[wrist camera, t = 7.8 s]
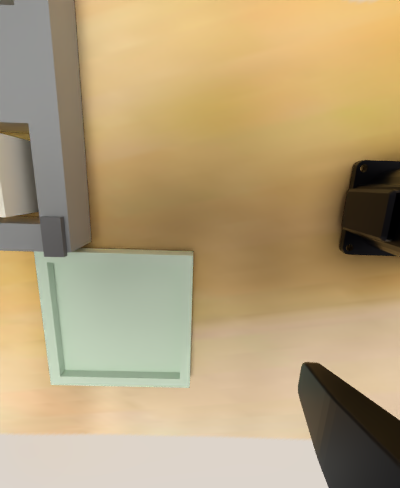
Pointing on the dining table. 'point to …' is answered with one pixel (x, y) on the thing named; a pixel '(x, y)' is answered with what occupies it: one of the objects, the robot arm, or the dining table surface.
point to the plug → (16, 177)
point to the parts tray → (117, 316)
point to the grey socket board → (45, 123)
